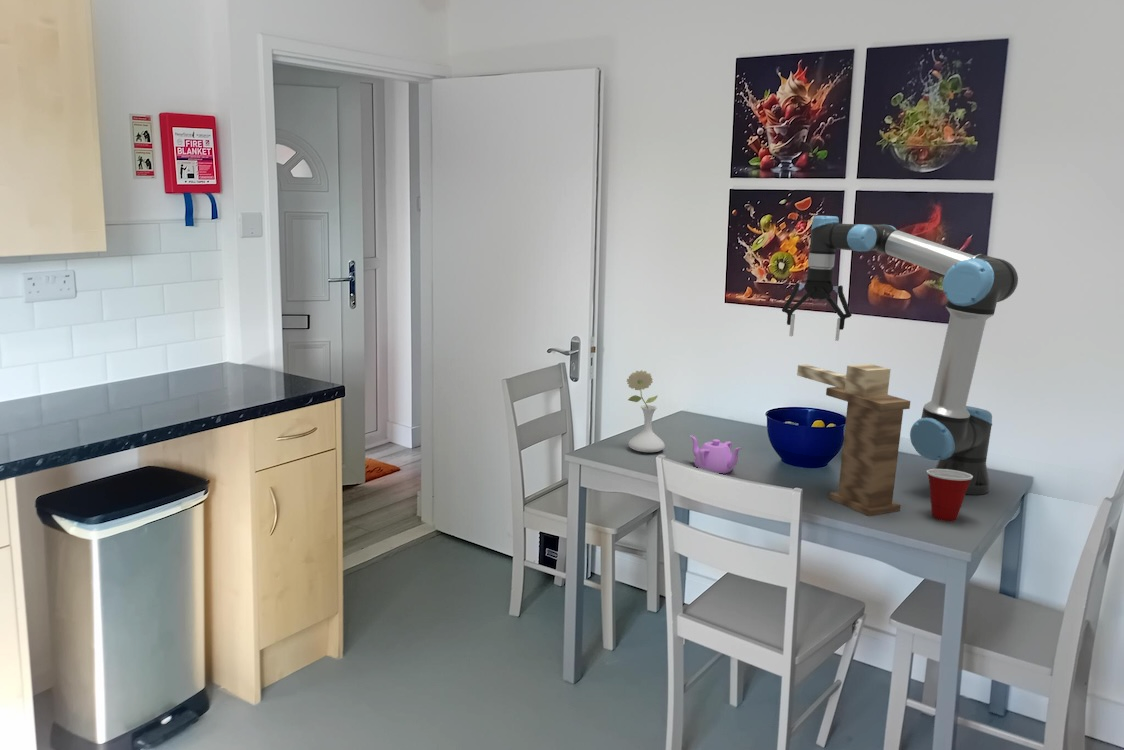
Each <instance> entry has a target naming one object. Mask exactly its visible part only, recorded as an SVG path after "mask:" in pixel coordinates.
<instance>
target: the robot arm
mask: <svg viewBox="0 0 1124 750" xmlns="http://www.w3.org/2000/svg"><path fill="white" fill-rule="evenodd" d="M839 219H840V218H839V217H838V216H835V215H834V216H833V215H815V216H814V217H812V224H811V228H810V243H809V251H808V261H807V262H808V263H807V266H808V268H807V272H806V281H805V283H801V282H799V281H798V282H796V283H795V285H794V289H793V291H792V292H791V294H790V296H789V297H788V299H787V300H786V302H785V304H784V305H783V307H782V309H781V311H782V312H783V313H785V314H786V315H787V317H786V318H787V319H786V324H787V326H789V332H788V334H789V335H788V336H789V337H794V330H795V319H796V314H794V313H795V312H796V310H797V309H798V308H799V307H801V305H802V304H804V302H806V301H807V300H808V299H809V298H810V299H813V300H817V299H818V300H826V302H828V303H829V304H830V306H831V307H832V309H833V310H834V312H835V313H836V314H837V316H838V317H839V318H838V317H837V321H836V328H835V329H836V330H835V339H834V340H835V341H836V342H838V341H840V331H841V330H842V331H843V330H844V328H845V320H846V319H848V318H851V317H852V312H851V309H850V307H849V304H848V301H847V299H846V297H845V293H844V286H843V285H833V284H834V283H833V280H834V278H833V277H834V269H833V268H834V267H835V259H836V250H843V251H855V252H869V251H876V252H879V253H882V254H884V255H888V256H891V257H894V258H897V259H899V260H901V261H902V260H903V261H904V262H907V263H910V264H913V265H915V266H918V267H920V268H924V269H926V270H929V271H933V272H935V273H938V274H939V275H940V274H941V275H943V276H944V277H943V280H942V291H943V294H944V296H945V298H946V299H947V300H946V303H945V309H946V310H947V311H948V312H949V319H948V320H949V321H948V324H947V328H946V334H945V337H944V342H943V347H942V351H941V356H940V360H939V364H938V369H937V374H936V377H935V378H936V379H935V383H934V387H933V391H932V397H931V400H930V401H927V402H926V403H925V404H924V405H923V407H922V408H923V409H922V413H921V418H919V419H917V420H916V421H915V422H913V424H912V426H911V428H910V432H909V437H910V441H911V446H912V447H913V448H914V449H915V451H916V453H917V454H919V455H920V456H921V457H923V458H925V459H926V460H931V461H938V462H937V464H936V466H935V467H934V469H949V470H956V471H961V472H965V473H968V474H971V475H972V476H973V478H972V479H971V481H970V483H969V485H968V488H967V490H966V493H965V495H976V496H978V495H979V496H980V495H985V494H987V493H989V492H990V488H991V482H990V481H991V480H990V476H989V472H988V467H987V459H988V458H987V457H988V453H989V452H988V450H989V444H990V439H991V431H992V426H993V415H992V412H991V411H989V410H987V409H983V408H979V407H976V406H975V407H974V406H969V405H967V402H968V398H969V394H970V389H971V385H972V380H973V377H974V373H975V369H976V363H977V362H978V361H977V360H978V355H979V351H980V348H981V343H982V338H983V335H984V331H985V326H986V321H987V320H988V319H990V318H991V317H993V316H994V315H995V311H996V307H997V304H998V303H1000V302H1003V301H1005V300H1006V299H1008V298H1010V297H1011V296H1012V295H1013V294H1014V293H1015V291H1016V289H1017V287H1018V283H1019V282H1018V281H1019V276H1018V272H1017V270H1016V268H1015V267H1014V266H1013V264H1012V263H1010V262H1009V261H1007V260H1005V259H1001V258H997V257H993V256H989V255H986V254H983V253H978V254H976V255H973V254H971V253H967V252H964V251H962V250H959V249H955V248H953V247H949V246H946V245H944V244H940V243H938V242H935V241H931V240H928V239H925V238H923V237H919V236H916V235H913V234H910V233H907V232H905V231H901V230H898V229H897V228H896V227H894V226H893V225H889V224H885V223H883V224H862V223H858V224H857V223H855V224H854V223H840V221H839ZM803 288H804V289H805V292H806V293H805V294H804V296H802V297H801V298H800V299H799V300H798V301H797V302H796V303H795V304H794V305H793V306H792V307H791V308H790V306H791V304H792V303H793V301H794V299H796V296H797V295H798V294H799V291H801V290H803ZM833 291H834V292H835V293H836V294H837V295H838V297H839V301H840V302H841V306H842V308H843V311H844V312H843V311H842V309H841V307H839V305H838V304H837V302H836V301H835V300H834V298H833V296H832V295H831V293H832V292H833ZM789 308H790V309H789Z"/></svg>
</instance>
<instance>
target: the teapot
mask: <svg viewBox="0 0 1124 750" xmlns="http://www.w3.org/2000/svg"><path fill="white" fill-rule="evenodd" d="M688 437H690V439H691V440H692V452H693V453H692V454H693V456H694V465H695V467H696V468H697V467H699V468H703V469H707V470H710V471H713V472H717V473H723V474H722V475H724V474H728V473H730V472H731V471H732V470H733V469H734V468H735V467H736V465H737V463H738V461H739V451H740V450H741V449H743V447H736V448H734V449H733V452H732V451H731V449H732V442H731V441H729V440H728V441H724V442H721V440H720V439H716V438H715V439H712V441H707V442H704V443H703V444H702V445H701V447H699V443H698V439H697V438H696V437H695V436H694V435H691V434H689V436H688Z"/></svg>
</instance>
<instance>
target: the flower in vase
mask: <svg viewBox="0 0 1124 750" xmlns="http://www.w3.org/2000/svg"><path fill="white" fill-rule="evenodd" d="M653 380H654V379H653V377H652V375H651V373H648V372H647V371H646V370H644V371H643V370H636V371H635V372H632V373H631V374H630V375H628V378H626V382H627V385H628V388H630V389H632V390H634V391H640V396H639V395H631V396H630V397H629V398H628V399H627V401H631V402H634V403H638V402H640V401H641V400H642V401H643V403H644V405H641V406H640V409H641V410H642V412H643V419H644V423H643V428H642V430H641V431H640V432H638V434H636V435H634V436H633V437H632V438H631V439H629V441H628V443H627V445H628V447H629V448H630V449H633V450H634V451H637V452H639V453H640V452H641V453H657V452H661V451H663V450H664V449H665V447H666V445H665V442H664V441H663V440H662V439H661V438H660V437H659V436H658V435H657V434H656V433H654V431H653V428H652V423H653V422H652V421H653V416H654V413H655V411H656V410H657V408H658V407H657V406H656V405H653V404H650V403H653V402H654V401H656V400H657V399H658V395H655V396H652V397H648V398H647V399H646V401H645V399H644V398H643V393H642V390H645V389H648V388H650V386H651V385H652V384H653V382H654V381H653Z"/></svg>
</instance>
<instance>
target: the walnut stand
mask: <svg viewBox="0 0 1124 750" xmlns="http://www.w3.org/2000/svg"><path fill="white" fill-rule="evenodd" d="M844 391H845V389H842V388H839V387H835V386H830V387H826V392H825V396H828V397H831V398H833V399H838V400H841V401H844V402H847V406H846V415H845V417H846V418H845V424H844V426H845V427H844V432H843V433H844V434H843V442H842V454H841V462H840V473H839V482H838V491H834V492H829V494H828V495H829V496H828V499H829V500H832V501H834V502H836V503H838V504H841V505H843V506H845V507H848V508H850V509H852V510H854V511H856V512H859V513H861V514H863V515H865V516H868V517H871V516H878V515H884V514H889V513H895V512H900V511H901V504H899V503H896V502H894V501H893V498H894V490H895V482H896V474H897V465H898V459H899V458H898V456H899V449H900V448H899V447H900V440H901V431H902V424H903V423H902V422H903V417H904V410H910V408H911V400H908V399H905V398H901V397H897V396H895V395H890V394H888V396H878V397H867V398H864V397H860V396H857V395H854V394H850V393H847V392H844Z"/></svg>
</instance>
